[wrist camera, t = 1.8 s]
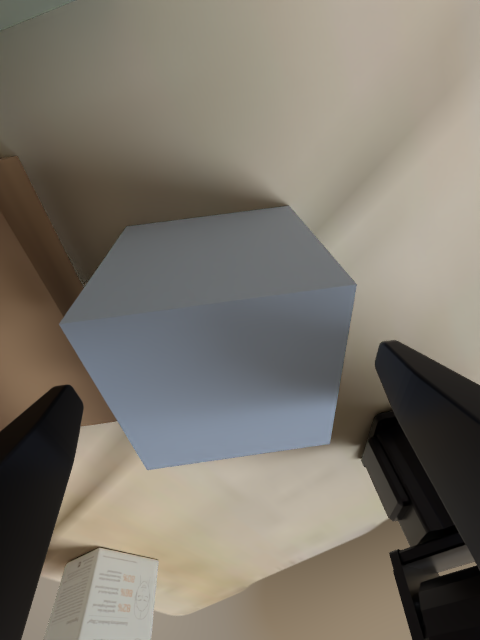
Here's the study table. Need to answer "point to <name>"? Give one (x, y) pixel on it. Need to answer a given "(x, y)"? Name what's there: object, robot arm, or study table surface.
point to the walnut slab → (36, 306)
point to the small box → (105, 598)
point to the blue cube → (216, 336)
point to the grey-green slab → (25, 10)
